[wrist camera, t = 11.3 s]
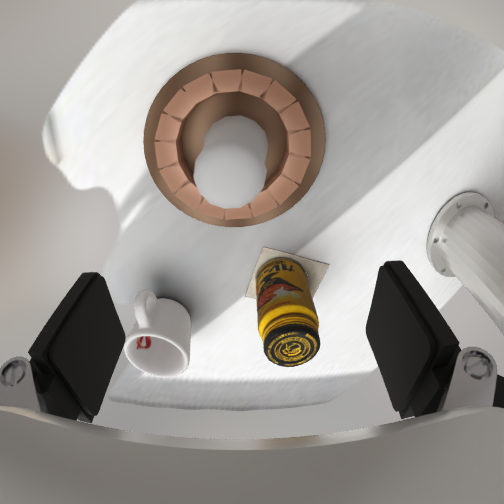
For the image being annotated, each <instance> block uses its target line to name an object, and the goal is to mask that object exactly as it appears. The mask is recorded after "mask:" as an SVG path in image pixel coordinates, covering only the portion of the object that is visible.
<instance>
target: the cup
mask: <svg viewBox="0 0 504 504" xmlns="http://www.w3.org/2000/svg"><path fill="white" fill-rule="evenodd" d="M146 301H147V305H146ZM134 312H135V316H136V319H137V321H136V323H135V324H134V326H133V328H132V330H131V332H130V333H129V335H128V337H127V339H126V341H125V344H124V351H125V354H126V356H127V358H128V360H129V361H130V362H131V363H132V364H133V365H134V366H135V367H136V368H138V369H139V370H141V371H143V372H145V373H147V374H150V375H153V376H158V377H173V376H177V375H179V374H181V373H183V372H184V371H185V370H186V369H187V367H188V365H189V361H190V336H191V320H190V316H189V314H188V312H187V310H186V309H185V308H184V307H183V306H182V305H181V304H180V303H178V302H176V301H174V300H171V299H166V298H160V299H157V298H156V296H155V294H154V292H153V291H152V290H150V289H145V290H142V291H140V292H139V293H138V295H137V297H136V299H135V303H134Z"/></svg>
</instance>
